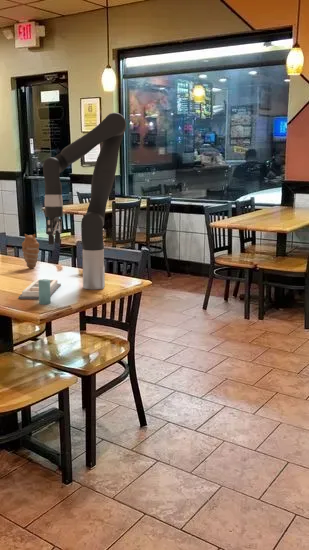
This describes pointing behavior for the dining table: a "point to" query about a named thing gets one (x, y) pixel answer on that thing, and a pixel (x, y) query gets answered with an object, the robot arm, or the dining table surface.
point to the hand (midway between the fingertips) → (54, 243)
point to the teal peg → (44, 291)
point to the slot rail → (37, 290)
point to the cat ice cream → (30, 250)
